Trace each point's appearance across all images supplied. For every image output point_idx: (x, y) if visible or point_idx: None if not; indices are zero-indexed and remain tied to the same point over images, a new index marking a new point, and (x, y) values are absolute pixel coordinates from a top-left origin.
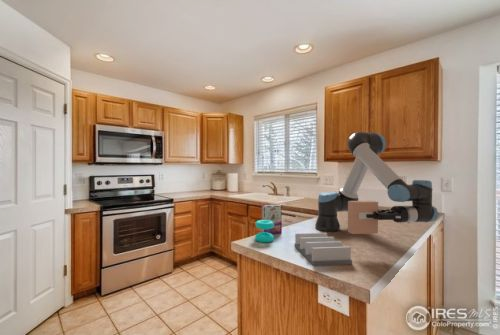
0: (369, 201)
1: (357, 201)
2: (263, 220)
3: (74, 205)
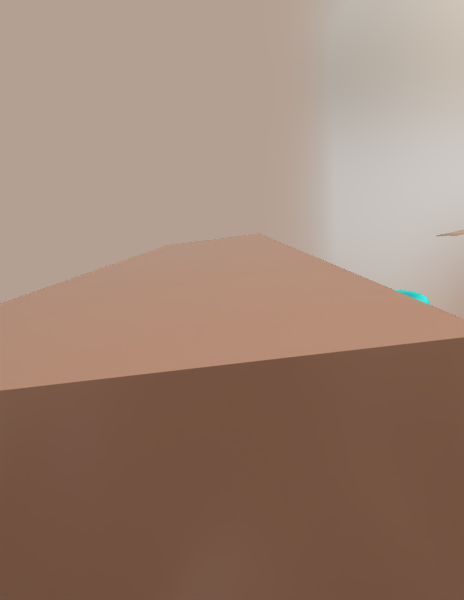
0: (150, 276)
1: (206, 245)
2: (411, 294)
3: (460, 230)
